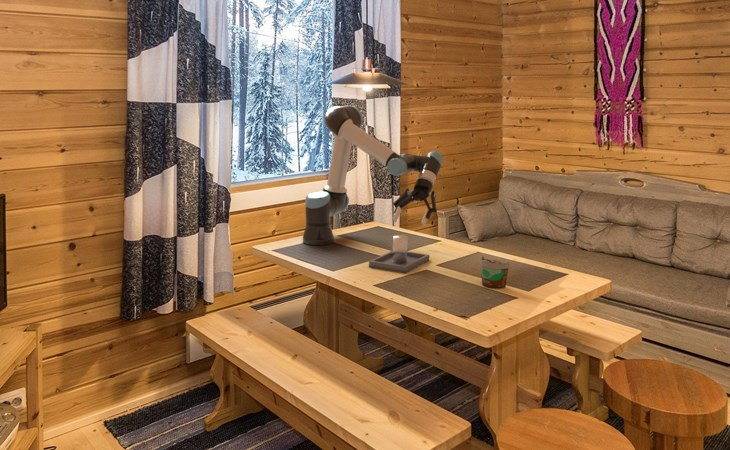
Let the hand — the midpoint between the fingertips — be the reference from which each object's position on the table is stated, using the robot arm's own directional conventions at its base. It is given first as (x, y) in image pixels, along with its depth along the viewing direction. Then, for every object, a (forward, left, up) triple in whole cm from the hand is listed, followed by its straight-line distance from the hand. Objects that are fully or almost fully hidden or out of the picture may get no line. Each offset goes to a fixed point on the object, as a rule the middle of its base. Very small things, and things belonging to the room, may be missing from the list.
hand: (408, 222), depth 269 cm
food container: (+44, -16, -17) cm, 49 cm away
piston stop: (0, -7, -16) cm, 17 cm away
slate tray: (0, -7, -16) cm, 18 cm away
